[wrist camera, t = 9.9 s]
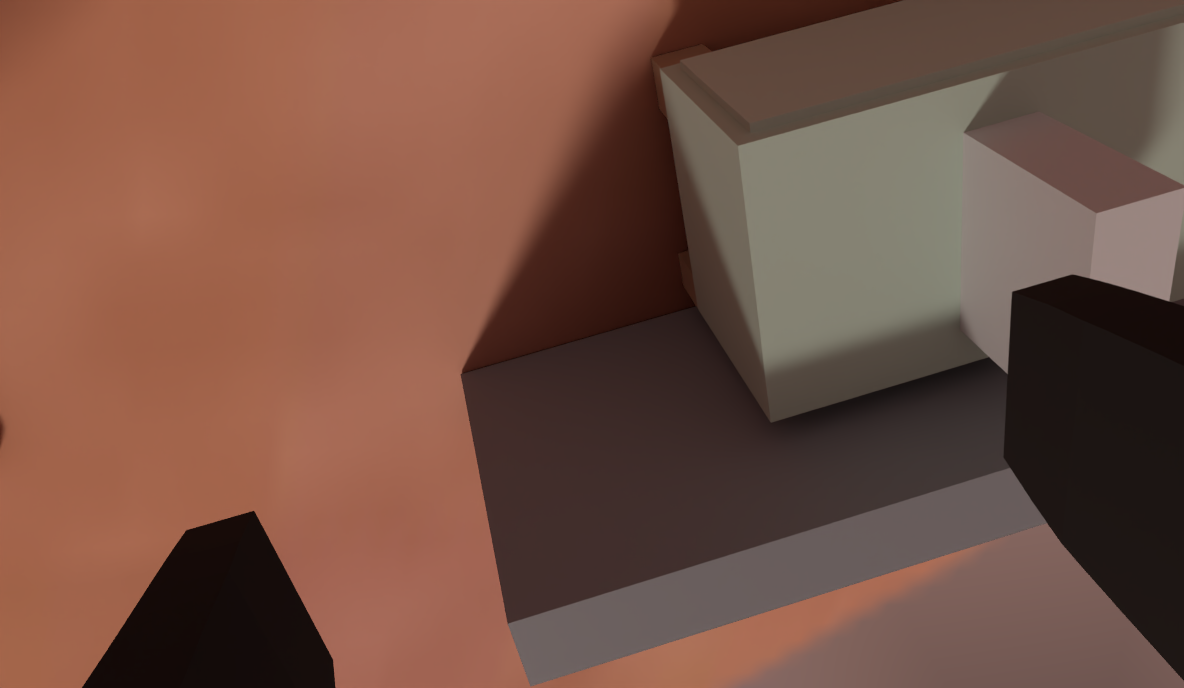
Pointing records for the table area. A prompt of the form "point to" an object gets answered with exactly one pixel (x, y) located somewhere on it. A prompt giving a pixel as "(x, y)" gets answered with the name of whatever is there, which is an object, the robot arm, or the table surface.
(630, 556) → the wall board
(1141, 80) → the grey block
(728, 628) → the table surface
